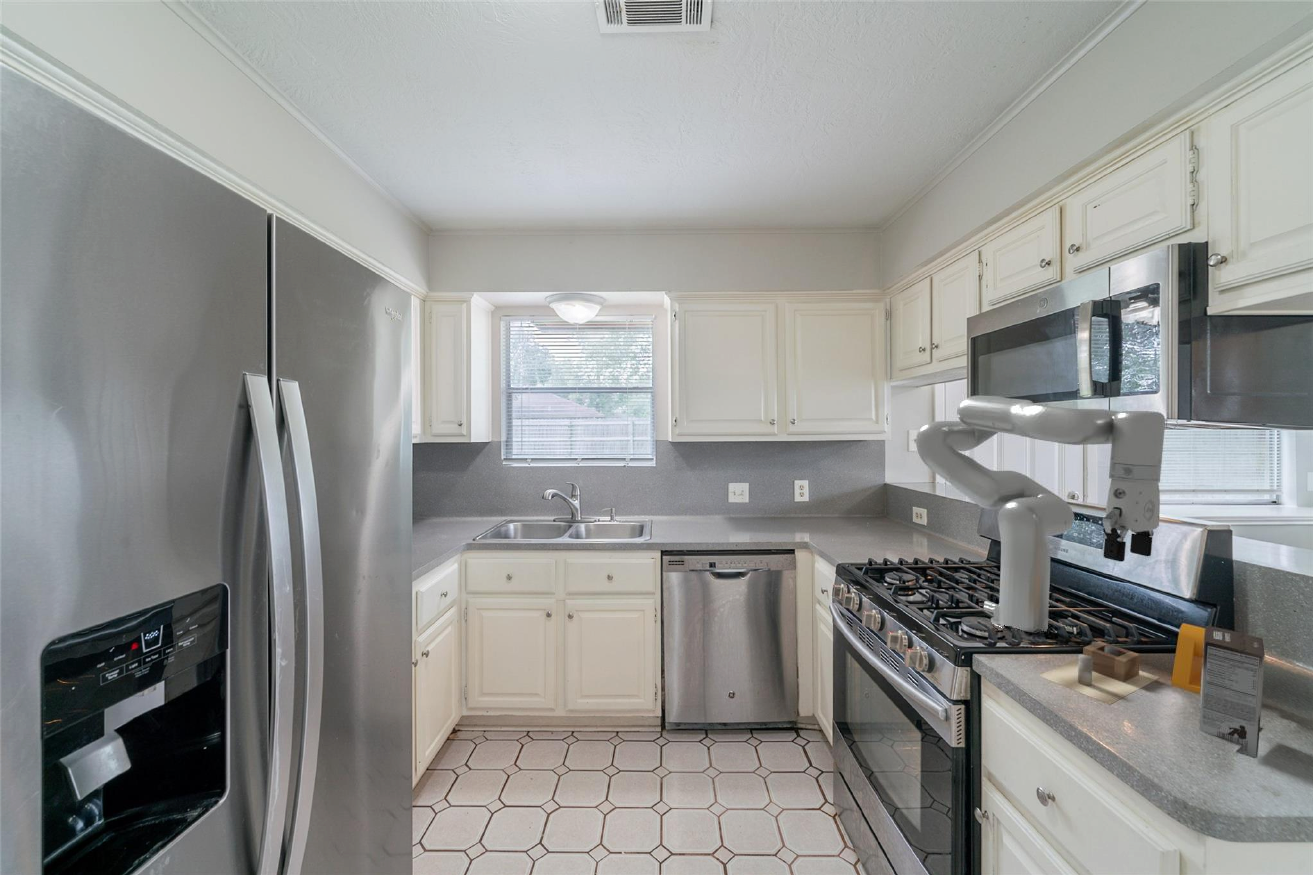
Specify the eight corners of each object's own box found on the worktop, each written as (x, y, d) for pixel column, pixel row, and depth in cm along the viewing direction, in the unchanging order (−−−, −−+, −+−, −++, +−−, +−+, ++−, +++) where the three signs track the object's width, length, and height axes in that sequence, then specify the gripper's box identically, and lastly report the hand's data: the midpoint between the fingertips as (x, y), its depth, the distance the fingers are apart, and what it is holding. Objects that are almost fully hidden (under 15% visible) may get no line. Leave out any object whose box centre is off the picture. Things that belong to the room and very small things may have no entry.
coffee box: (1199, 717, 88) (1205, 624, 87) (1257, 734, 83) (1263, 636, 83) (1196, 739, 82) (1202, 639, 81) (1258, 759, 77) (1265, 654, 76)
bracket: (1228, 712, 90) (1232, 644, 89) (1170, 693, 96) (1174, 629, 95) (1241, 694, 96) (1246, 630, 95) (1186, 677, 102) (1190, 617, 101)
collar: (1123, 682, 96) (1124, 661, 96) (1082, 667, 102) (1083, 647, 102) (1138, 674, 99) (1140, 654, 99) (1098, 660, 105) (1099, 641, 105)
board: (1038, 683, 99) (1039, 649, 99) (1089, 660, 108) (1091, 629, 108) (1109, 712, 89) (1111, 676, 89) (1159, 685, 98) (1161, 651, 98)
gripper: (1134, 477, 96) (1126, 567, 97) (1181, 473, 103) (1173, 557, 104) (1087, 472, 103) (1080, 556, 104) (1134, 468, 110) (1127, 547, 111)
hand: (1127, 556), depth 104 cm, fingers open, 9 cm apart
